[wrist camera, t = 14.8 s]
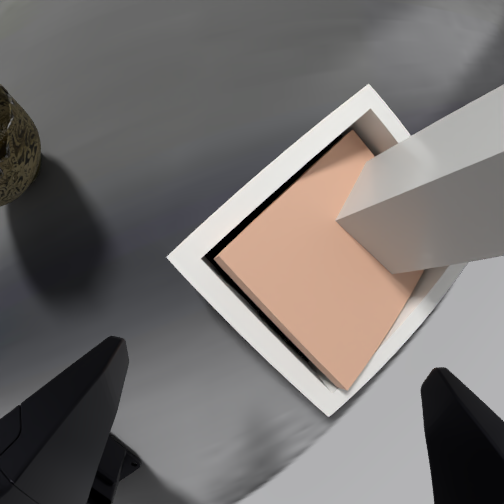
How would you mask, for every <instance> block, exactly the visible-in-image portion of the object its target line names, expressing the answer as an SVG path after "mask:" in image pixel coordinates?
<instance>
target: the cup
mask: <svg viewBox="0 0 504 504" xmlns="http://www.w3.org/2000/svg"><path fill="white" fill-rule="evenodd" d="M40 153H41V144H40V138H39V134H38V131H37V128H36V126H35V124H34V122H33V121H32V119H31V118H30V117H29V115H28V114H27V113H26V111H25V110H24V109H23V108H22V107H21V106H20V105H19V104H18V103H17V102H16V101H15V100H14V99H13V97H12V96H11V95H10V94H9V93H8V91H7V90H6V89H5V88H4V87H3V86H2V85H1V84H0V206H3V205H6V204H8V203H10V202H12V201H14V200H15V199H16V198H18V197H19V196H20V195H21V194H22V193H23V192H24V191H25V190H26V189H27V188H28V186H30V185H31V184H32V183H33V182H34V181H35V180H36V178H37V176H38V174H39V172H40V169H41V162H42V160H41V154H40Z"/></svg>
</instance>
